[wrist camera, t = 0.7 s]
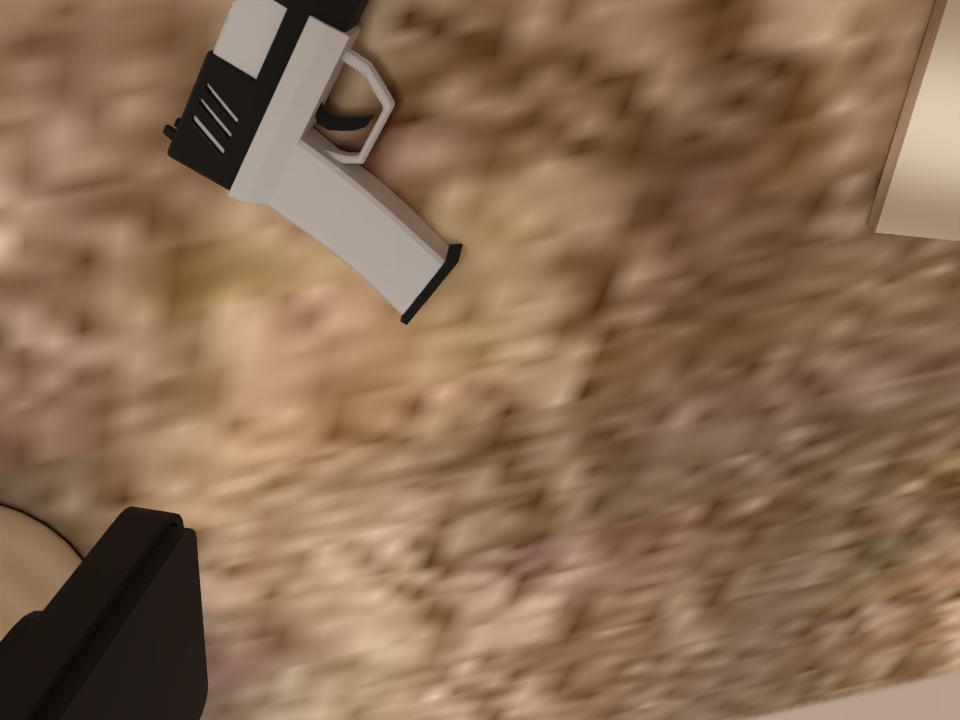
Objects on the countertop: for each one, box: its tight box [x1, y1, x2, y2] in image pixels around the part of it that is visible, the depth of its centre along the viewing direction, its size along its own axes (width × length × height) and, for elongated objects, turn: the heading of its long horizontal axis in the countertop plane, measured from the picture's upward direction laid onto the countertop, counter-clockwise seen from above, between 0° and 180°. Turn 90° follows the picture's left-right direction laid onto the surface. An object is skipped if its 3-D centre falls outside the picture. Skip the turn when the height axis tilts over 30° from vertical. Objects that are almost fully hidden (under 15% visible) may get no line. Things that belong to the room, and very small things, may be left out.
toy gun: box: [163, 0, 462, 325], centre depth 30 cm, size 3×16×12 cm
